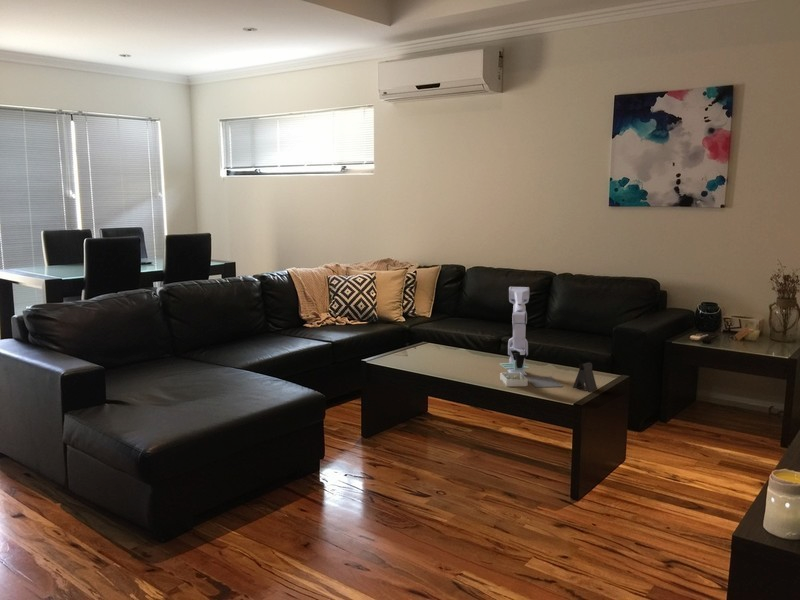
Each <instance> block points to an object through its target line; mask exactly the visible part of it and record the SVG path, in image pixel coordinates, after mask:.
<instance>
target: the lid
mask: <svg viewBox="0 0 800 600" xmlns="http://www.w3.org/2000/svg"><path fill="white" fill-rule="evenodd" d="M499 365H500V366H501V367H502V368H504V369H505V370H509V369H514V370H524V369H525V370H527V369H529V368H530V367H529V366H527V365H526V364H525V365H524V362H523V366H522V368H517V364H516V360H513V363H509V362H500V363H499Z"/></svg>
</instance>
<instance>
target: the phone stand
mask: <svg viewBox="0 0 800 600" xmlns="http://www.w3.org/2000/svg"><path fill="white" fill-rule="evenodd" d="M578 368H579V370H578V373H577V374H576V378H575V380H574V384H573V385H572V388H573V389H575V390H579V391H583V392H587V391H588V393H591V392H593V390H594V391H596V389H597V390H598V386H597V383H596V380H595V376H594V371H593V363H592V362H589V361H588V362H584V363H581V364H579V366H578ZM590 391H591V392H590Z"/></svg>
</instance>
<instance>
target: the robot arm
mask: <svg viewBox="0 0 800 600" xmlns="http://www.w3.org/2000/svg"><path fill="white" fill-rule="evenodd" d="M529 299H530V287H529V286H527V287H526V286H509V287H508V301H509V303H511V304H512V305H513V306H512V307H513V308H512V316H511V318H512V319H511V320H512V321H511V323H512V337H511V338H509V339H508V342H507V355H508V356H509V359H508V363H513V360H516V364H517V368H522V366H523V362H524V365H526V357H527V356H528V355H529V343H528V339H526V331H527V330H526V325H527V323H528V313H527V310H526V304H528V303H529V301H530V300H529ZM506 370H507V373H518V372H521V373H522V374H523V375H524V376H528V373H526V372H525V370H526V369H524V370H514V369H506Z"/></svg>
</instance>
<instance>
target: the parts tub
mask: <svg viewBox="0 0 800 600" xmlns="http://www.w3.org/2000/svg"><path fill="white" fill-rule="evenodd" d="M526 377H527V376H526V375H523V374H522V373H521V372H518V373H509V372H500V373H499V379H500V381H501V382H502V384H503V385H504V386H505V387H528V382H529V381H528V379H527V378H526Z"/></svg>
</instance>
